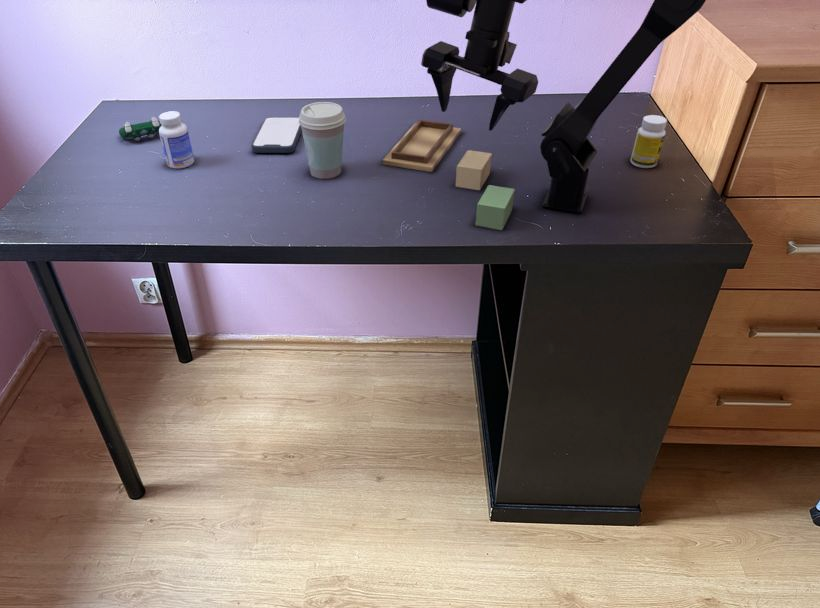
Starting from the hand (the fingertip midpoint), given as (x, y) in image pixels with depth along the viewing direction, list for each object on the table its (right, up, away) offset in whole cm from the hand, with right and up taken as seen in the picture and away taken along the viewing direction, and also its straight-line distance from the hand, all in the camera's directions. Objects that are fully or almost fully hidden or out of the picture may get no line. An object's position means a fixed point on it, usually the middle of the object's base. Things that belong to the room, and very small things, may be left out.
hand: (467, 120), depth 113 cm
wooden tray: (-6, +1, +19) cm, 19 cm away
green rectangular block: (+4, -17, -3) cm, 18 cm away
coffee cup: (-25, -6, +12) cm, 28 cm away
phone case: (-35, +5, +25) cm, 43 cm away
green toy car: (-64, +6, +28) cm, 70 cm away
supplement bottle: (+35, -5, +10) cm, 37 cm away
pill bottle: (-54, -3, +17) cm, 57 cm away
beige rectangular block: (+2, -8, +8) cm, 11 cm away
